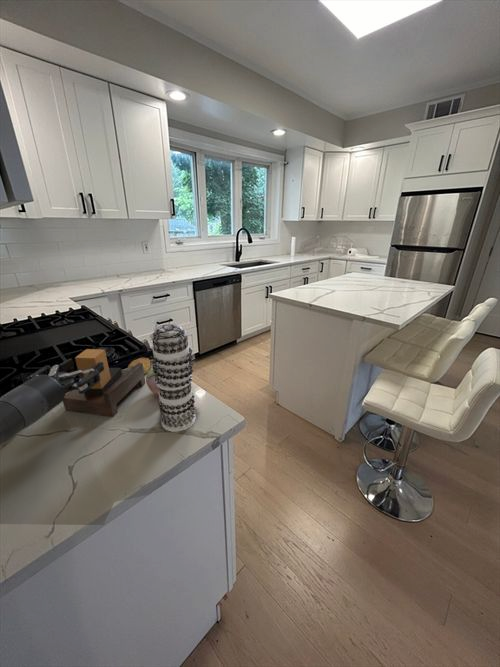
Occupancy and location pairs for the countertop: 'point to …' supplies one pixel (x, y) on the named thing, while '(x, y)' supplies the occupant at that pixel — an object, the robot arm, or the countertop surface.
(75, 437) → the countertop surface
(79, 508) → the countertop surface
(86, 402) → the dark wooden riser stand
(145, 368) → the pastry
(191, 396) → the decorative candle
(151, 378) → the decorative fruit
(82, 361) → the two-tone stepped block
